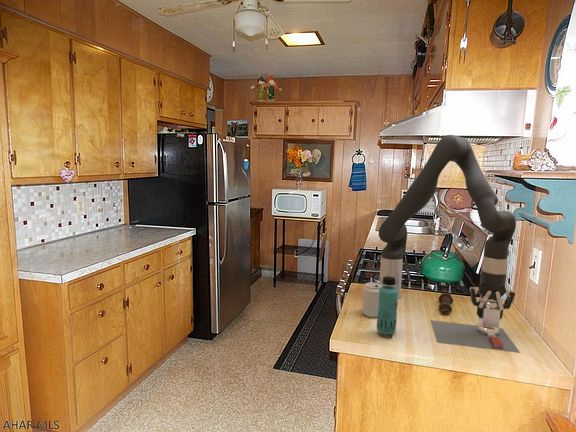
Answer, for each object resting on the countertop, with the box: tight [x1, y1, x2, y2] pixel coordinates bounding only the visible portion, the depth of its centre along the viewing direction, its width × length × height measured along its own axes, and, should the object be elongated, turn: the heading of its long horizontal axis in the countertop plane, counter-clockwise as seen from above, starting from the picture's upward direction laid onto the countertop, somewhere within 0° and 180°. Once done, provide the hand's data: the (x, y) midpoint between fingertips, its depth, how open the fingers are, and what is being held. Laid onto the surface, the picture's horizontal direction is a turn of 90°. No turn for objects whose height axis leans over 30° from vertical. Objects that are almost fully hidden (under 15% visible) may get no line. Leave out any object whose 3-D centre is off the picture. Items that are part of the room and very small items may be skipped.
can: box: [361, 282, 382, 319], centre depth 144 cm, size 8×8×12 cm
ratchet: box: [477, 322, 503, 349], centre depth 125 cm, size 6×15×5 cm, turn 166°
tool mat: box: [429, 319, 521, 354], centre depth 127 cm, size 24×18×1 cm
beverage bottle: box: [376, 276, 399, 335], centre depth 127 cm, size 6×7×20 cm
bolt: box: [437, 292, 454, 316], centre depth 150 cm, size 6×5×15 cm
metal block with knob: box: [478, 300, 501, 328], centre depth 129 cm, size 5×5×8 cm
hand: (488, 318), depth 129 cm, fingers closed on metal block with knob, 5 cm apart
